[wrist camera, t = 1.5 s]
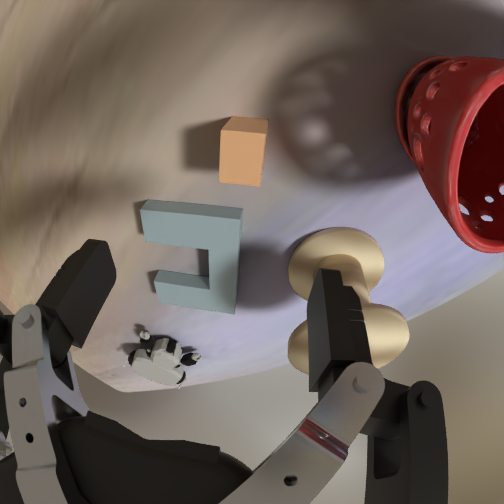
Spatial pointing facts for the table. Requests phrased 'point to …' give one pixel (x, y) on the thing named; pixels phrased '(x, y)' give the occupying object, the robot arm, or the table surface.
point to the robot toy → (161, 360)
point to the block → (242, 150)
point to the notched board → (203, 237)
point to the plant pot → (458, 141)
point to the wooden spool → (353, 274)
